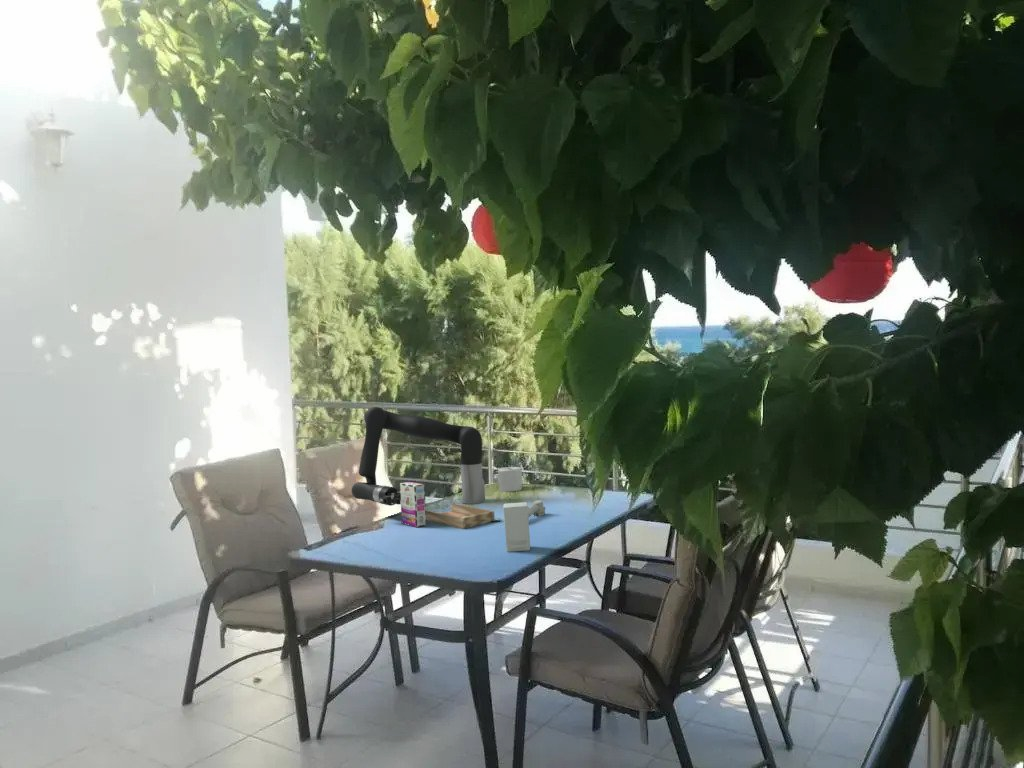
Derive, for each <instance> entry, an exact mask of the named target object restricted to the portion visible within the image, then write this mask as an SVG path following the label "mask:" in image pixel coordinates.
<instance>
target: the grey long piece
mask: <svg viewBox="0 0 1024 768" xmlns="http://www.w3.org/2000/svg"><path fill="white" fill-rule="evenodd" d="M544 514H545V515H546V506H544V503H543V501H542V500H541V499H537V500H535V501H533V504H531V505H530V506H529V507H528V519H529V518H531V517H532V516H533V515H534V516H533V517H535V516H541V515H544ZM545 515H544V516H545ZM541 517H542V516H541Z"/></svg>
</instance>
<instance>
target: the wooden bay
mask: <svg viewBox="0 0 1024 768" xmlns="http://www.w3.org/2000/svg"><path fill="white" fill-rule="evenodd" d="M450 506H451V510H448V511H444V512H436V511H432V510H427V509H426V522H429V523H430V522H431V523H435V524H439V525H444V526H447V527H453V528H455V529H460V528H461V529H460V530H466V529H469V527H470V528H473V526H474V527H477V525H478V526H481V525H480V524H482V525H485V524H484V523H486V524H488V523H487V522H490V523H492V522H491V521H494V520H495V519H496V518H495V510H489V509H484V508H481V507H480V508H478V507H475V506H468V505H464V504H459V503H454V502H452V503H450ZM495 521H496V520H495ZM495 521H494V522H495ZM465 528H466V529H465Z"/></svg>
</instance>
